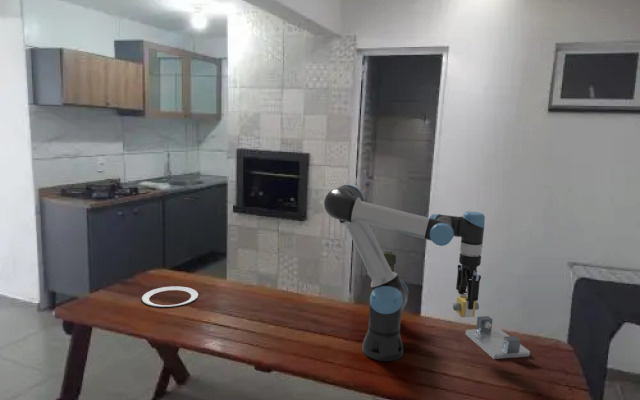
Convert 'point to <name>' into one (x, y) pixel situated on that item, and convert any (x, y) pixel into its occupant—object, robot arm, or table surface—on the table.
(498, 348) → the grey mounting plate
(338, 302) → the table surface
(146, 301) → the flat white ring
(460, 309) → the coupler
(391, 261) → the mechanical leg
